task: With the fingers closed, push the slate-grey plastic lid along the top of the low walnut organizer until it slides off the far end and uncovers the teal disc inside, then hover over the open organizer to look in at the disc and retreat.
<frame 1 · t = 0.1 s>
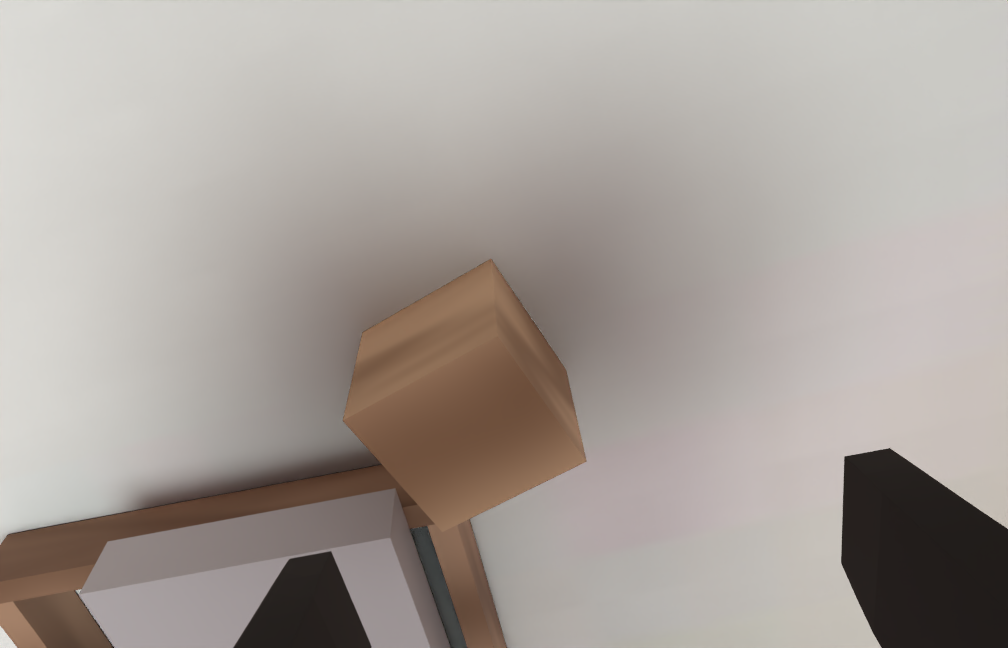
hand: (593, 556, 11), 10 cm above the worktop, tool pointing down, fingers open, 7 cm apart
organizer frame: (279, 603, 25), on the worktop
beech block: (466, 350, 21), on the worktop
lid: (313, 647, 23), point 2 cm above the worktop, touching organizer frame
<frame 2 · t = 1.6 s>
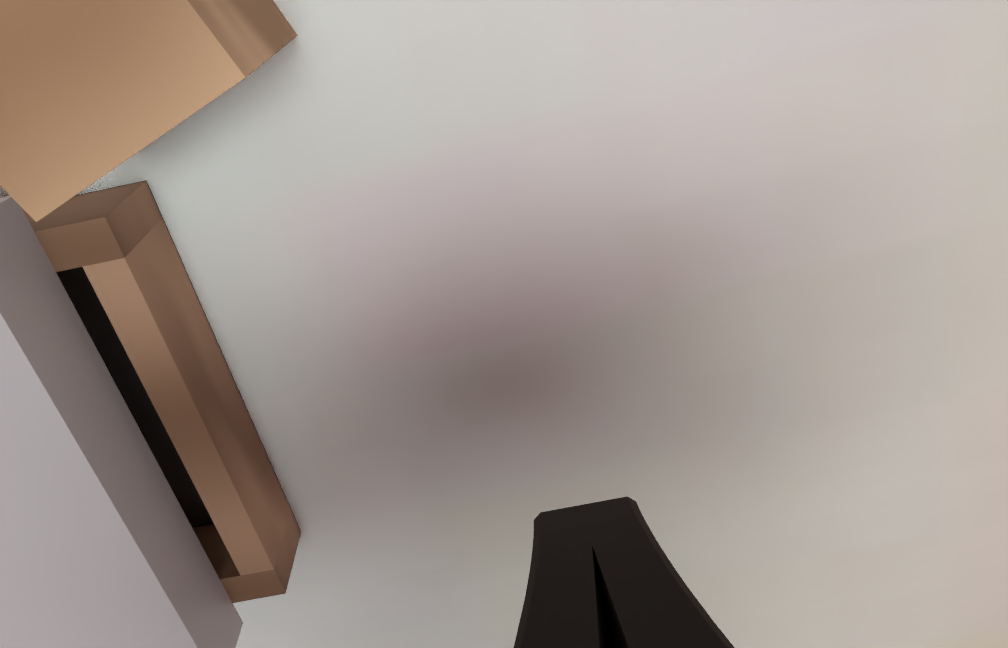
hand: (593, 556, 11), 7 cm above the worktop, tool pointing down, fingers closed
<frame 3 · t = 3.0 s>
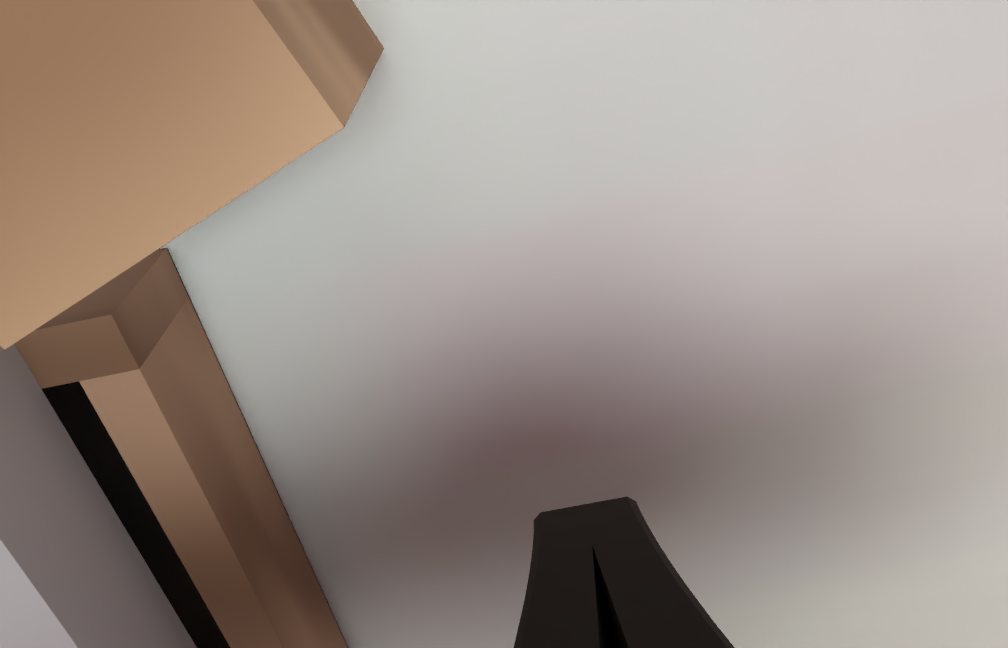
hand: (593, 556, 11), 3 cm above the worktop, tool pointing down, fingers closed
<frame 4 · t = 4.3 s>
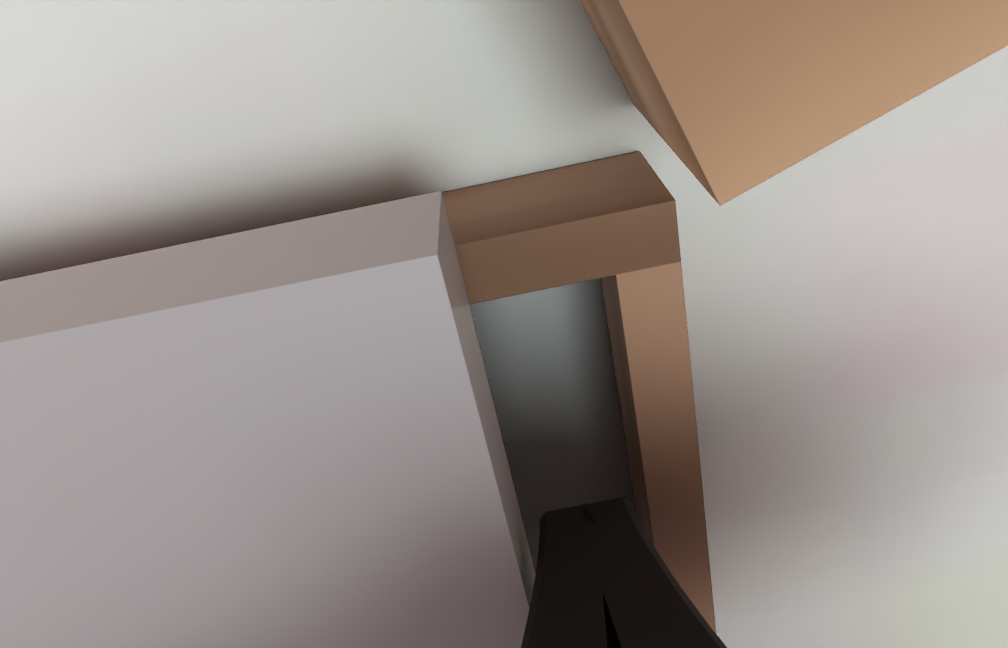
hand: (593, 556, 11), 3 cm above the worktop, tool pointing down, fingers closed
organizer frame: (284, 497, 13), on the worktop
lid: (266, 585, 12), point 2 cm above the worktop, touching gripper
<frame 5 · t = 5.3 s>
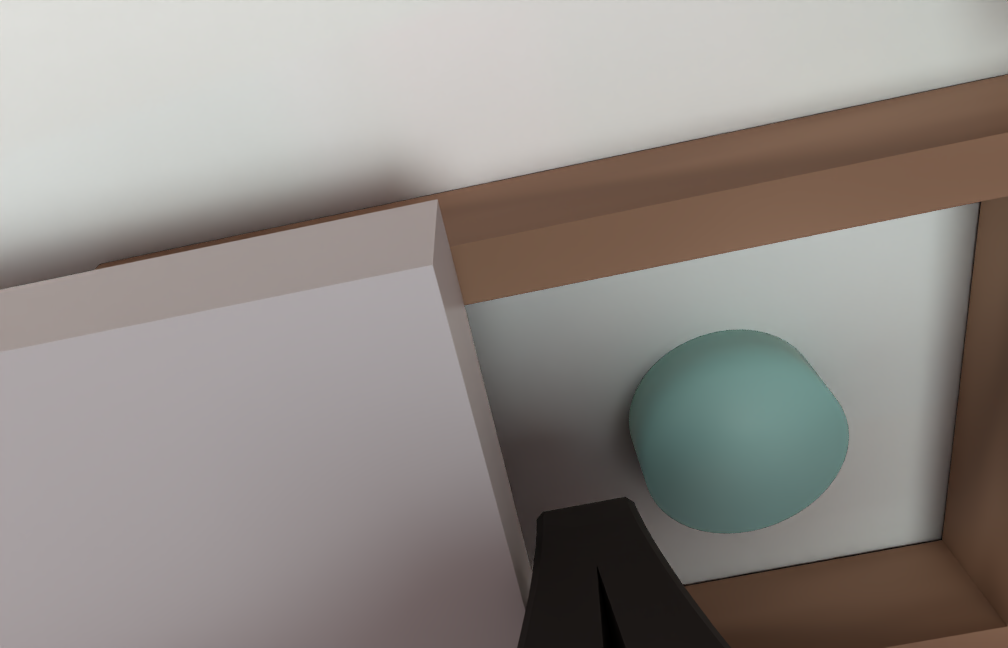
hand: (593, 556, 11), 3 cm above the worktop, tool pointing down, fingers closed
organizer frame: (606, 435, 13), on the worktop
teal disc: (719, 405, 13), resting in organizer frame
lid: (265, 590, 12), point 2 cm above the worktop, touching gripper
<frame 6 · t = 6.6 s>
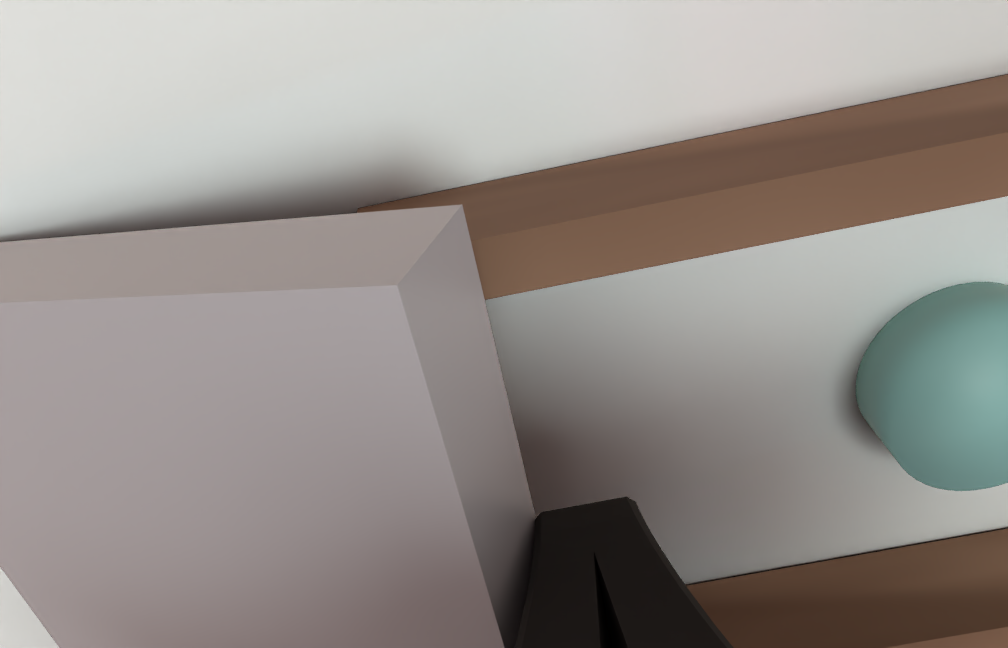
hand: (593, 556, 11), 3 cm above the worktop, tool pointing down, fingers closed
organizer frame: (832, 392, 13), on the worktop
teal disc: (945, 362, 13), resting in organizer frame
lid: (305, 544, 12), point 1 cm above the worktop, tilted 19°, touching gripper, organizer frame
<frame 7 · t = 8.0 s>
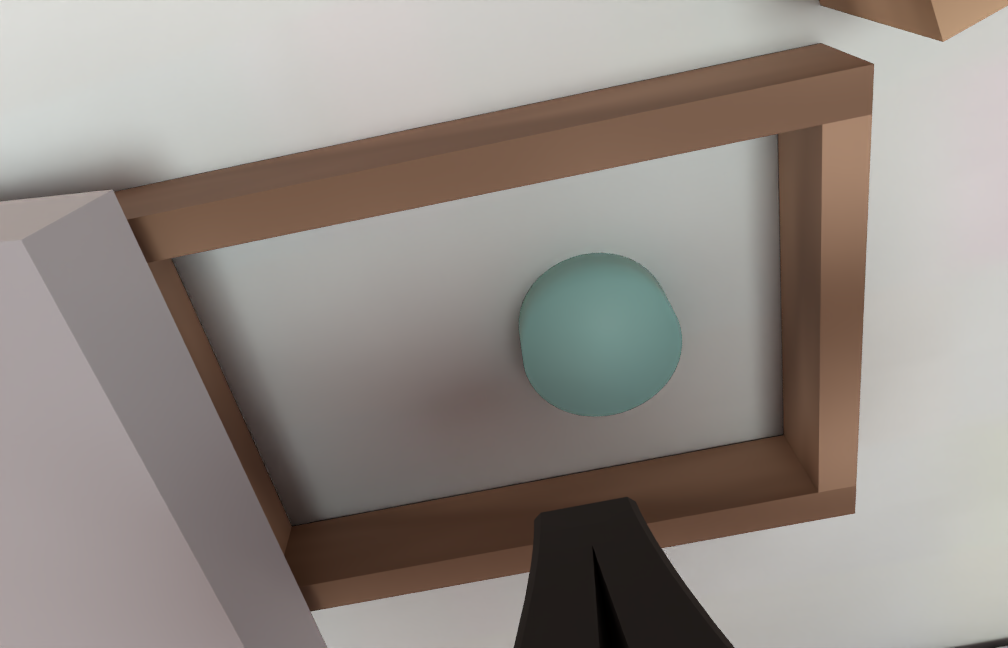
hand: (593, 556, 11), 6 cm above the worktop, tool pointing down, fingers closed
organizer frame: (501, 340, 16), on the worktop
teal disc: (591, 317, 16), resting in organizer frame
lid: (79, 456, 16), point 1 cm above the worktop, tilted 19°, touching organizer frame
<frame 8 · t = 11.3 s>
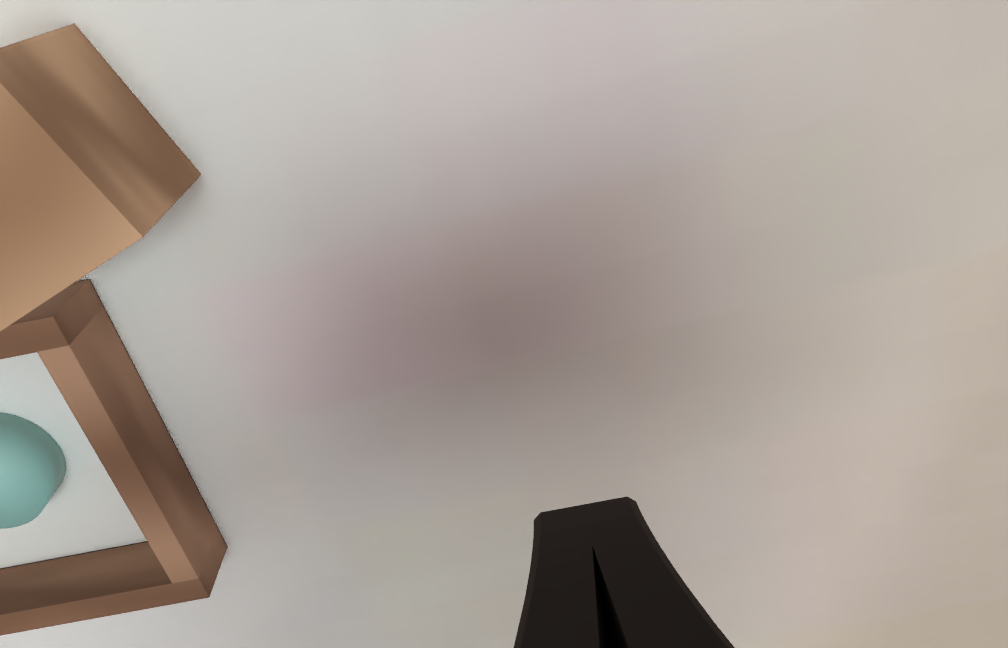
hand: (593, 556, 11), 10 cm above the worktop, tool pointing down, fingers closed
teal disc: (10, 453, 22), resting in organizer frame
beech block: (78, 147, 18), on the worktop
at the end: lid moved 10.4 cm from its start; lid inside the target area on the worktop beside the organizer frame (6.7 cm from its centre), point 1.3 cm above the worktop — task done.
